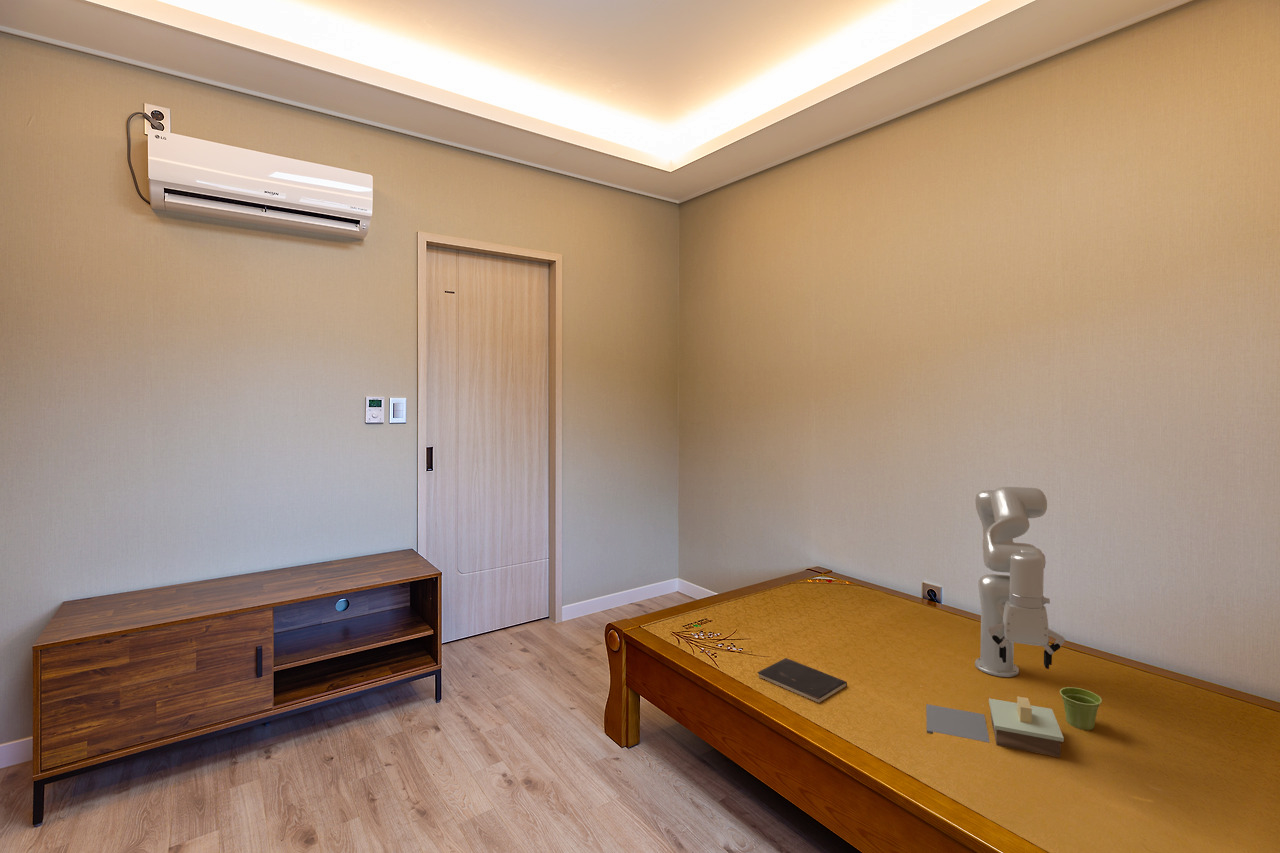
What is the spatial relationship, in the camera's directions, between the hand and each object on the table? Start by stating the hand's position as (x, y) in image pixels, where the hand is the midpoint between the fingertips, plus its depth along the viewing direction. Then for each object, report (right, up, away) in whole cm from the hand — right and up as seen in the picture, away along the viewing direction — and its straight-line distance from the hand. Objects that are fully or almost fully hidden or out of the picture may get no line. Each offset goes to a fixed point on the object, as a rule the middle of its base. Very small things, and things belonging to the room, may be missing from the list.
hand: (1024, 663), depth 162 cm
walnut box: (+1, -21, +2) cm, 21 cm away
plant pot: (+20, -20, +7) cm, 29 cm away
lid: (+1, -16, +1) cm, 16 cm away
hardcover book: (-50, -20, +36) cm, 64 cm away
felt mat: (-13, -21, +9) cm, 26 cm away
